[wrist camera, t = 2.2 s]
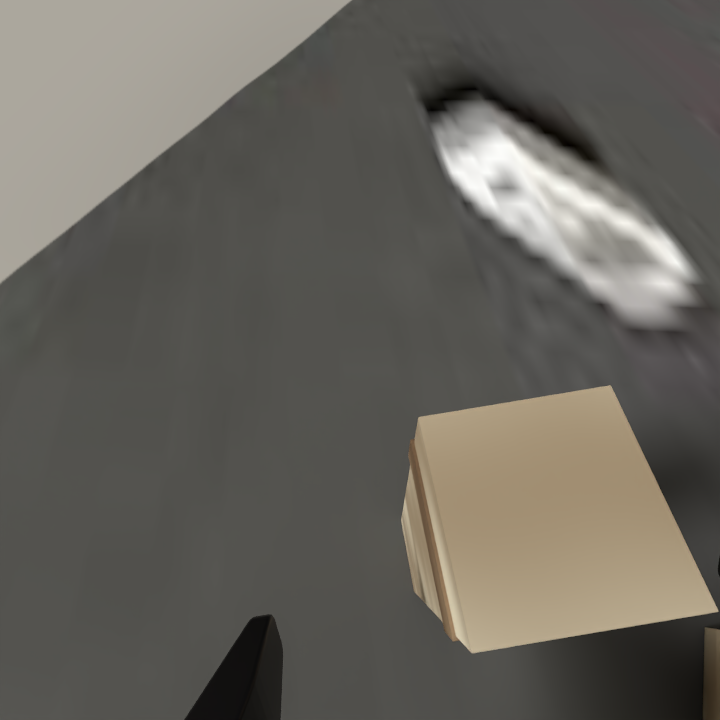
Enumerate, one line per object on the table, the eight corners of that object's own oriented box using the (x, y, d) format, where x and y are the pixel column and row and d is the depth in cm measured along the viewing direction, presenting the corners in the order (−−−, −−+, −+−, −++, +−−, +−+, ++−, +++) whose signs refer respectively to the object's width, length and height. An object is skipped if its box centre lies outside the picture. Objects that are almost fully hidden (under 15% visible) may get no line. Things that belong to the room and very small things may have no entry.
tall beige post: (481, 581, 16) (726, 616, 4) (413, 593, 16) (468, 660, 4) (463, 508, 17) (612, 380, 5) (399, 519, 17) (413, 413, 5)
